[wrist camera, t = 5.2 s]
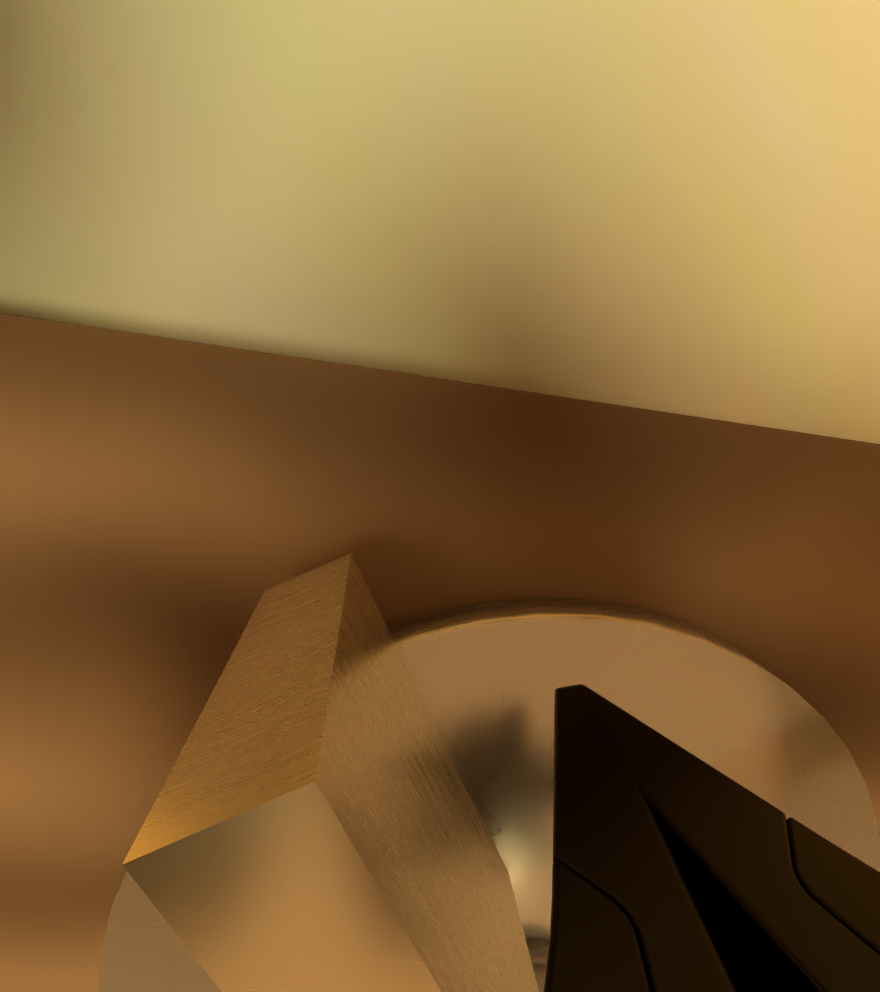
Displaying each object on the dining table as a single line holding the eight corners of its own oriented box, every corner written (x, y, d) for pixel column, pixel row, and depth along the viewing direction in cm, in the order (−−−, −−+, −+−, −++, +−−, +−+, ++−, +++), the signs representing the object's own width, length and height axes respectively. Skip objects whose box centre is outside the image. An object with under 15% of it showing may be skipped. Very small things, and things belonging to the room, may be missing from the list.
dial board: (-61, 304, 9) (-154, 289, 8) (1059, 471, 13) (1156, 485, 12) (6, 1208, 15) (-40, 1309, 14) (771, 1145, 19) (808, 1218, 17)
